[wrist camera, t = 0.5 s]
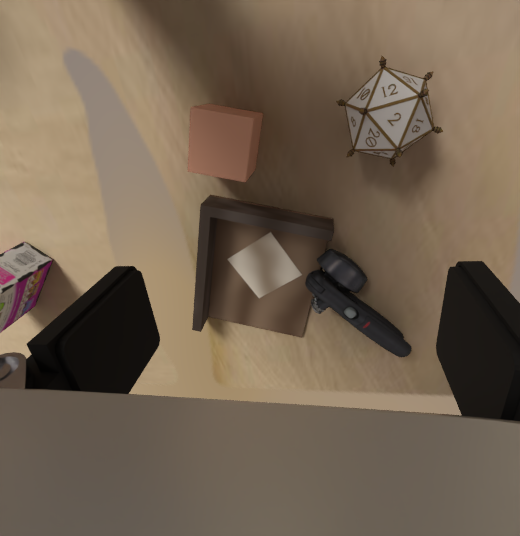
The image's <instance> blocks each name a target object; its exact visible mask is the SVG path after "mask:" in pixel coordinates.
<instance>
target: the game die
mask: <svg viewBox="0 0 520 536" xmlns="http://www.w3.org/2000/svg"><path fill="white" fill-rule="evenodd" d="M379 62H380V66H381V69H380V70H379V71H378V72H377V73H376V74H375V75H374V76H373V77H372V78H370V79H369V80H368V81H367V82H366V83H365V84H364V85H363V86H362V87H361V88H360V89H359V90H358V91H357V92H356V93H355V94H354V95H353V96H352V97H351V98H350V99H349V100H348V101H347V102H345V101H344V100H339V101H336V102H337V103H338V105H340V106H345V110H346V115H347V121H348V126H349V131H350V136H351V142H352V147H353V149H352V150H350V151H349V152H348V154H347V157H349V156H352V155H353V154H354V152H355V151H357V152H361V153H366V154H371V155H375V156H380V157H385V158H389V159H390V164H391V165H392V166H394V164H395V163H396V162H395V159H394V158H395V157H396V156H397V157H401V155H402V153H403V151H405V150H406V149H407V148H409V147H410V146H412V145H413V144H414V143H416V142H417V141H419V140H420V139H421V138H423V137H424V136H426V135H427V134H428V133H430V132H431V131H434V132H435V133H437V134H438V133H441V132H443V130H442V129H441V127H438V126H437V127H434V124H433V118H432V112H431V106H430V100H429V94H428V91H429V90H428V88H427V83H426V81H427V80H429V79H430V78H431V77H432V74H433V72H429V73H427V74H426V75H425V77H424V78H420V77H417V76H414V75H410V74H407V73H404V72H400V71H397V70H394V69H391V68H387V67H386V66H385V65H386V59H385V58H384V57H383V56H382V57H381V60H380V61H379Z"/></svg>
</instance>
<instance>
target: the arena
mask: <svg viewBox="0 0 520 536" xmlns="http://www.w3.org/2000/svg"><path fill="white" fill-rule="evenodd" d="M333 233H334V225H333V219H331V218H326V217H321V216H316V215H311V214H305V213H300V212H295V211H290V210H285V209H280V208H275V207H270V206H265V205H260V204H255V203H250V202H244V201H239V200H234V199H229V198H224V197H219V196H214V195H210V196H209V197H208V198H207V199H206V200H205V201H204V202H203V203H202V204H201V208H200V223H199V238H198V253H197V268H196V283H195V299H194V314H193V328H192V330H196V331H200V332H201V330H202V328H203V326H204V324H205V322H206V320H207V318H208V317H212V318H217V319H221V320H226V321H230V322H235V323H239V324H244V325H248V326H253V327H257V328H262V329H266V330H271V331H275V332H280V333H284V334H289V335H293V336H298V337H302V335H303V331H304V328H305V324H306V320H307V316H308V313H309V309H310V305H311V300H312V298H313V295H312V292H310V291H309V290H308V289H307V287H306V285H305V282H306V277H307V275H308V274H309V273H310V272H312V271H314V270H320V268H321V265H320V264H319V263H318V262H317V258H318V257H320V256H321V255H322V254H323V253H325V249H326V245H327V241H331V240H332V236H333Z"/></svg>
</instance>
